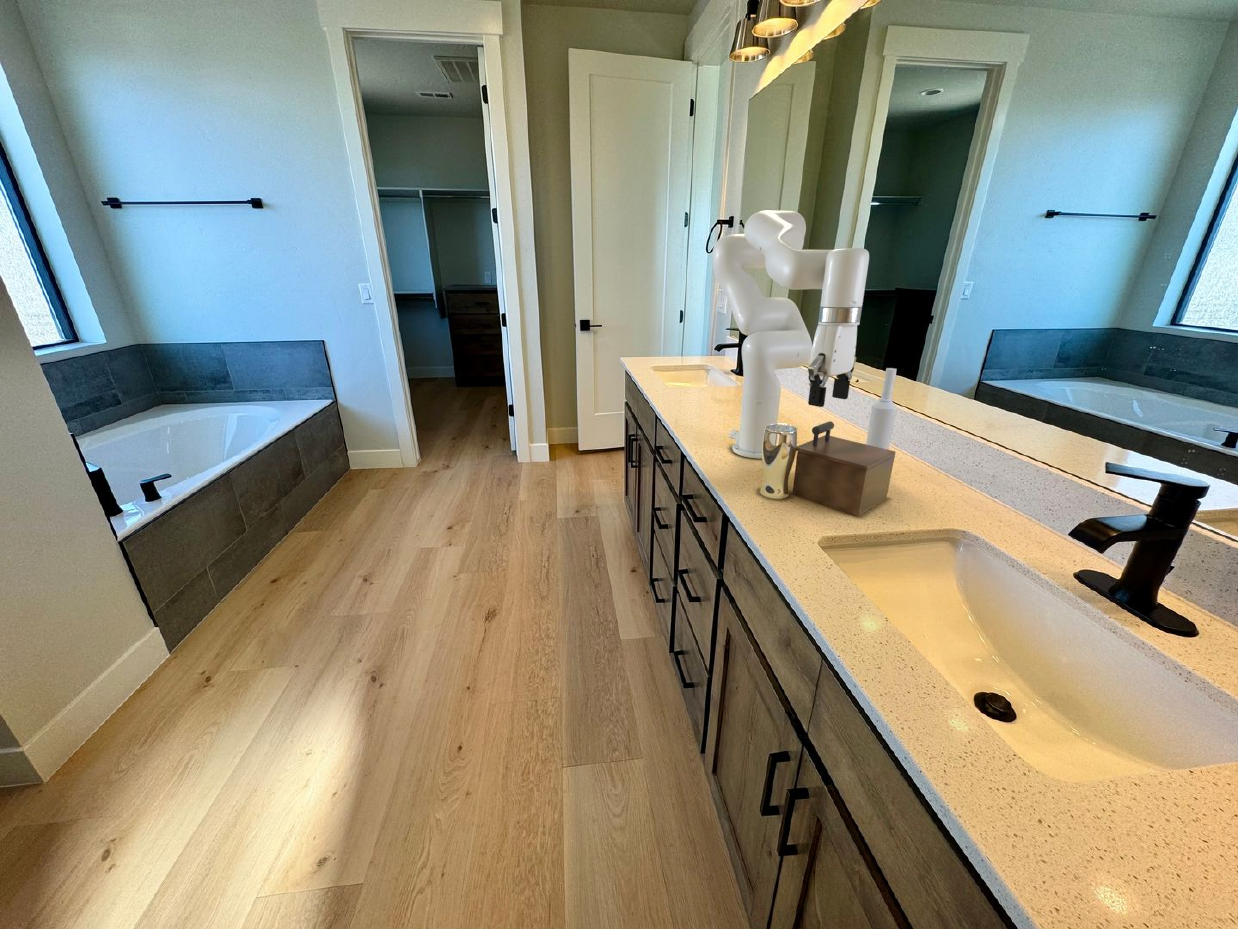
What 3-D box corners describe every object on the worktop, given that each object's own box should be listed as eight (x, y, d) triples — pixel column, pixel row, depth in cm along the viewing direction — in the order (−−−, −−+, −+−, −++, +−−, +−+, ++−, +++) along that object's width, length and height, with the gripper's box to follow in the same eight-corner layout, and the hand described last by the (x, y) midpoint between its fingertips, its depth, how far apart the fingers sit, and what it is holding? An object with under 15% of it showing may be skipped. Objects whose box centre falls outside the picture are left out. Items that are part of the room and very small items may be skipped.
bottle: (887, 478, 115) (908, 371, 106) (863, 477, 116) (882, 370, 107) (880, 470, 119) (900, 367, 110) (857, 469, 120) (875, 366, 111)
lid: (794, 450, 104) (797, 427, 102) (825, 438, 112) (828, 416, 110) (866, 470, 93) (871, 445, 92) (895, 455, 101) (900, 431, 99)
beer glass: (768, 501, 104) (775, 434, 98) (752, 489, 110) (757, 424, 105) (797, 497, 106) (805, 430, 100) (779, 485, 112) (786, 421, 106)
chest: (792, 493, 107) (797, 451, 104) (822, 478, 115) (827, 439, 111) (858, 516, 97) (866, 470, 93) (886, 498, 104) (895, 455, 101)
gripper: (842, 313, 105) (831, 393, 111) (798, 318, 94) (789, 405, 100) (878, 314, 99) (865, 398, 105) (835, 320, 89) (823, 412, 95)
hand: (828, 401), depth 103 cm, fingers open, 9 cm apart
